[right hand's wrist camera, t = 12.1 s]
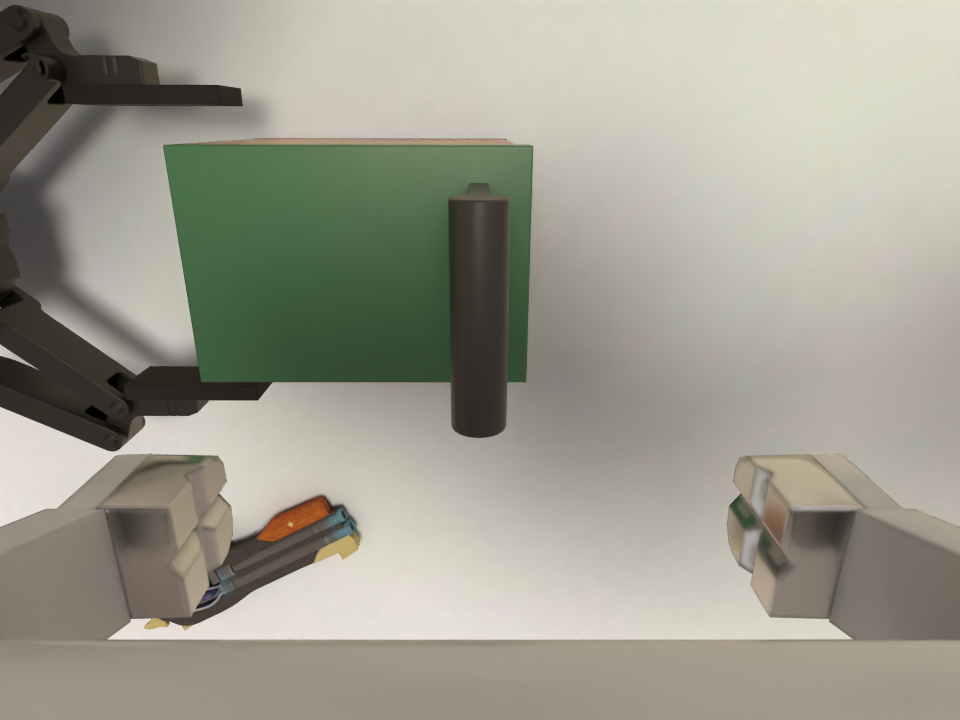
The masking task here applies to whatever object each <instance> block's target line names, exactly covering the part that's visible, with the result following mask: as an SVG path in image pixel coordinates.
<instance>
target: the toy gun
mask: <svg viewBox="0 0 960 720" xmlns="http://www.w3.org/2000/svg"><path fill="white" fill-rule="evenodd" d="M355 532H356V528H355V525H354V523H353V521H352V520H350V519H348V520H347V514H346V512H345V511H344V509H343V508H340V509H337V507H336V508H334V509H332V510H331V508H330V507H329V505H328V503H327V502H326V500H325V499H324V498H322V497H319V498H317V499H314V500H312V501H309V502H307V503H305V504H302V505H300V506H298V507H296V508H293V509H291V510H289V511H287V512H284V513H282V514H280V515H278V516H276V517H274V518H273V519H272V520H271V521H270V522H269V524H268V525H267V526H266V527H265V528H264V530H263V531H262V532H261V533H260V534H259V535H258V536H256V537H254V538H252V539H250V540H248V541H246V542H243V543H241V544H239V545H236V546H233V547H229V551H228V554H227V556H226V558H225V559H224V561H223V563H222V565H221V566H219V567H218V568H216V569H215V570H213V571H211V572H210V573H208V580H209V587H208V589H207V590H206V592H205V594H204V595H203V597H202V599H201V600H200V601H203V600H206V599H209V598H212V597H214V595H215V594H216V592H217V590H218V589H219V587H221V591H222V592H221V593H220V594H219V596H218V597H216V598H214V599H212V600H210V601H207V602H205V603H202V604H199V605H198V606H197V607H196V609H195V611H194V612H193V614H192V616H191V617H180V618H151V621H150V622H148V623H147V624H146V625H145V626H144V628H145V629H153V628H157V627H160V626H161V627H168V625H169V624H170V623H169V622H173V623H175V624H178V625H181V626H182V627H183V628H184V630H186V629H188V628H189V627H191V626H192V625H194V624H197V623H199V622H202V621H204V620H206V619H208V618H210V617H212V616H214V615H216V614H219V613H221V612H223V611H224V610H226V609H228V608H230V607H232V606H233V605H235V604H236V603H238V602H239V601H240V600H242V599H243V598H244V597H246V596H247V595H248V594H249V593H251V592H252V591H254V590H256V589H258V588H260V587H262V586H264V585H267V584H269V583H271V582H273V581H275V580H277V579H279V578H281V577H283V576H286V575H288V574H290V573H292V572H294V571H296V570H298V569H300V568H303V567H305V566H307V565H310V564H312V563H316V562H318V561H321V560H323V559H325V558H327V557H330V556H332V555H334V554H336V553H339V554H340V556H341V557H342V559H345V558H346V557H347V556H349V555H350V554H352V553H353V552H355V551H356V550H358V546H359V545H360V544H359V543H360V539H359V537H358V536H357V534H356V533H355Z"/></svg>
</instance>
